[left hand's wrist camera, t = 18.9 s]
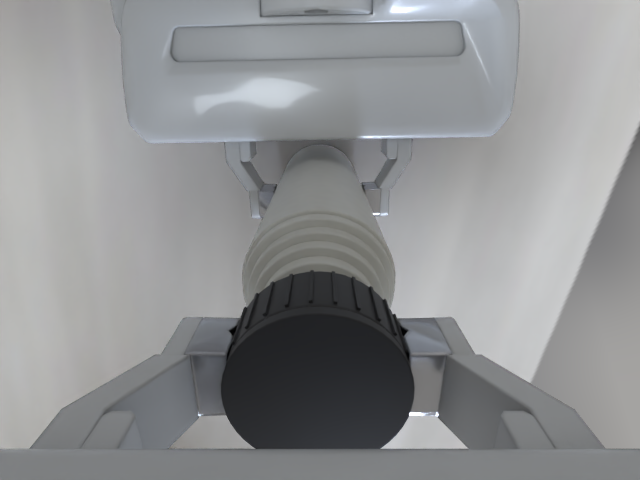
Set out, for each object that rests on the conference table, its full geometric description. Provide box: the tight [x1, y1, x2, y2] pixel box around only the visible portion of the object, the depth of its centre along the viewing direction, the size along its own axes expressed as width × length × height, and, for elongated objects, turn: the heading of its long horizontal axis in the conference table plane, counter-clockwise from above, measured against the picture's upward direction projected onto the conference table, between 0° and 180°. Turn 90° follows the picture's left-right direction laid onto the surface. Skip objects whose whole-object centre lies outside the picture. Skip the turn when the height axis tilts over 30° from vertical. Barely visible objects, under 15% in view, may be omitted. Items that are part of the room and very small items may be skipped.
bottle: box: [242, 144, 395, 308], centre depth 19 cm, size 5×5×21 cm
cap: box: [221, 270, 415, 449], centre depth 9 cm, size 4×4×2 cm
